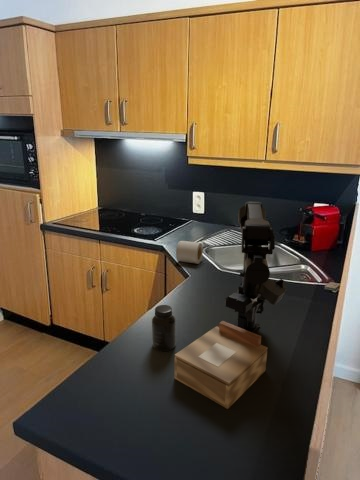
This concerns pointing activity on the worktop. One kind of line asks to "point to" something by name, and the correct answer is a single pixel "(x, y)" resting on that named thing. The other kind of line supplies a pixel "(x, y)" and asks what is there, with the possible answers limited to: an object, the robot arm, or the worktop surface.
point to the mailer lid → (223, 352)
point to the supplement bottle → (163, 328)
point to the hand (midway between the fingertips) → (250, 321)
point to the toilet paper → (189, 252)
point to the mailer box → (215, 387)
